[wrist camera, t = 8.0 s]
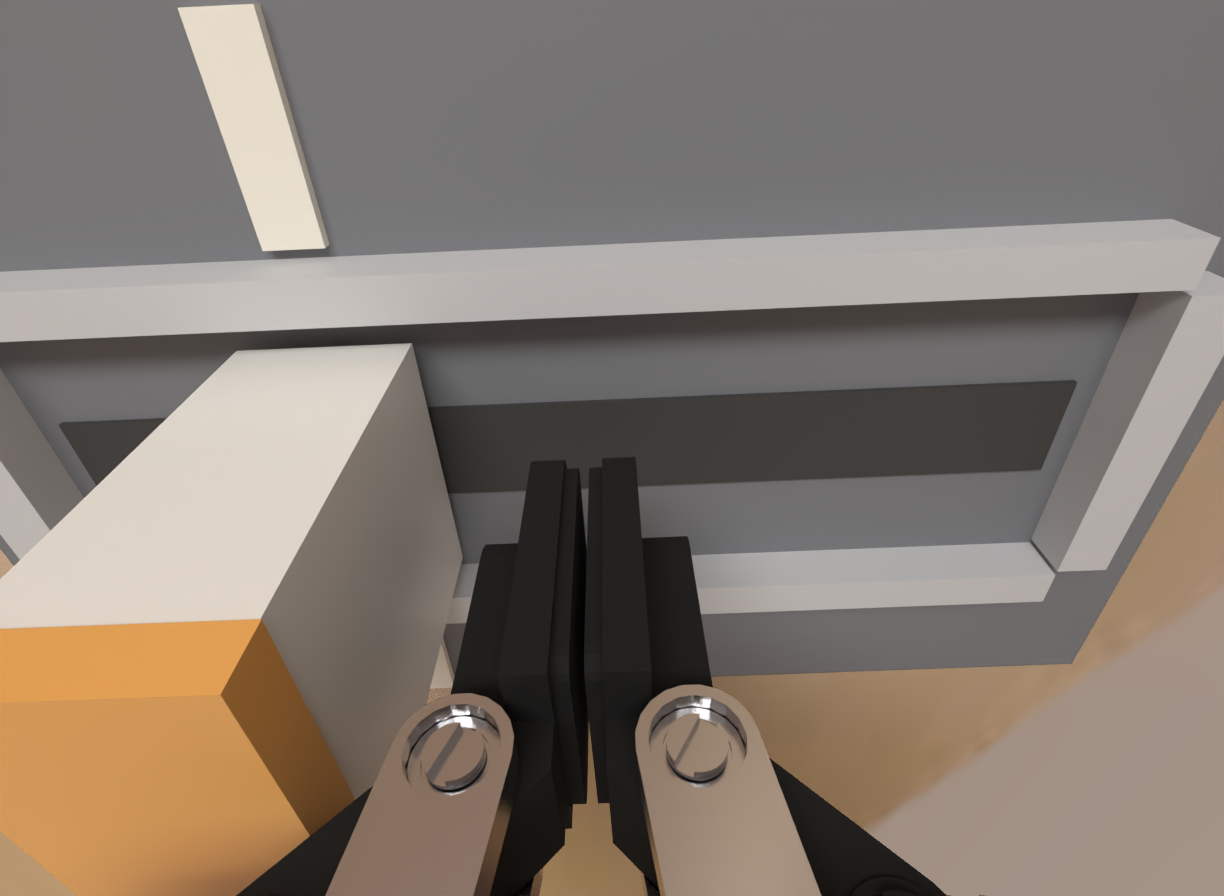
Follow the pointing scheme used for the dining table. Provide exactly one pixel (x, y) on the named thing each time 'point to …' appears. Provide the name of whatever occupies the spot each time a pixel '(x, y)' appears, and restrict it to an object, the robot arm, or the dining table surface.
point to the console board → (658, 277)
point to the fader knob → (228, 627)
